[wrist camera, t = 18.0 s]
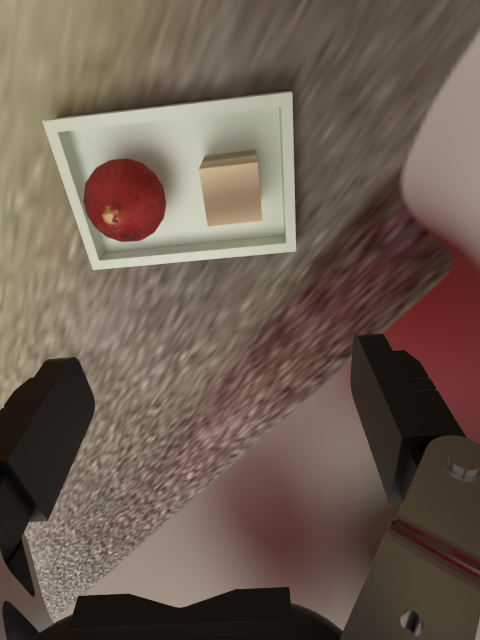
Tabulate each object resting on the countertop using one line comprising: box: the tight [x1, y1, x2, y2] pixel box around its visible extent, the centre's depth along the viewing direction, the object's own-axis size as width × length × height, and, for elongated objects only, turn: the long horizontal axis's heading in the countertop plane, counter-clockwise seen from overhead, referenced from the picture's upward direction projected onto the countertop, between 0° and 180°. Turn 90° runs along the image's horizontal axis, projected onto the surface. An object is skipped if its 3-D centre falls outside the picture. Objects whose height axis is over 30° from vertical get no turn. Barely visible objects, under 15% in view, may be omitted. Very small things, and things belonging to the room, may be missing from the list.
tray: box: [43, 91, 296, 270], centre depth 31 cm, size 12×18×2 cm, turn 96°
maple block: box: [199, 150, 262, 226], centre depth 29 cm, size 4×4×5 cm
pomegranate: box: [83, 158, 166, 242], centre depth 28 cm, size 6×6×8 cm
